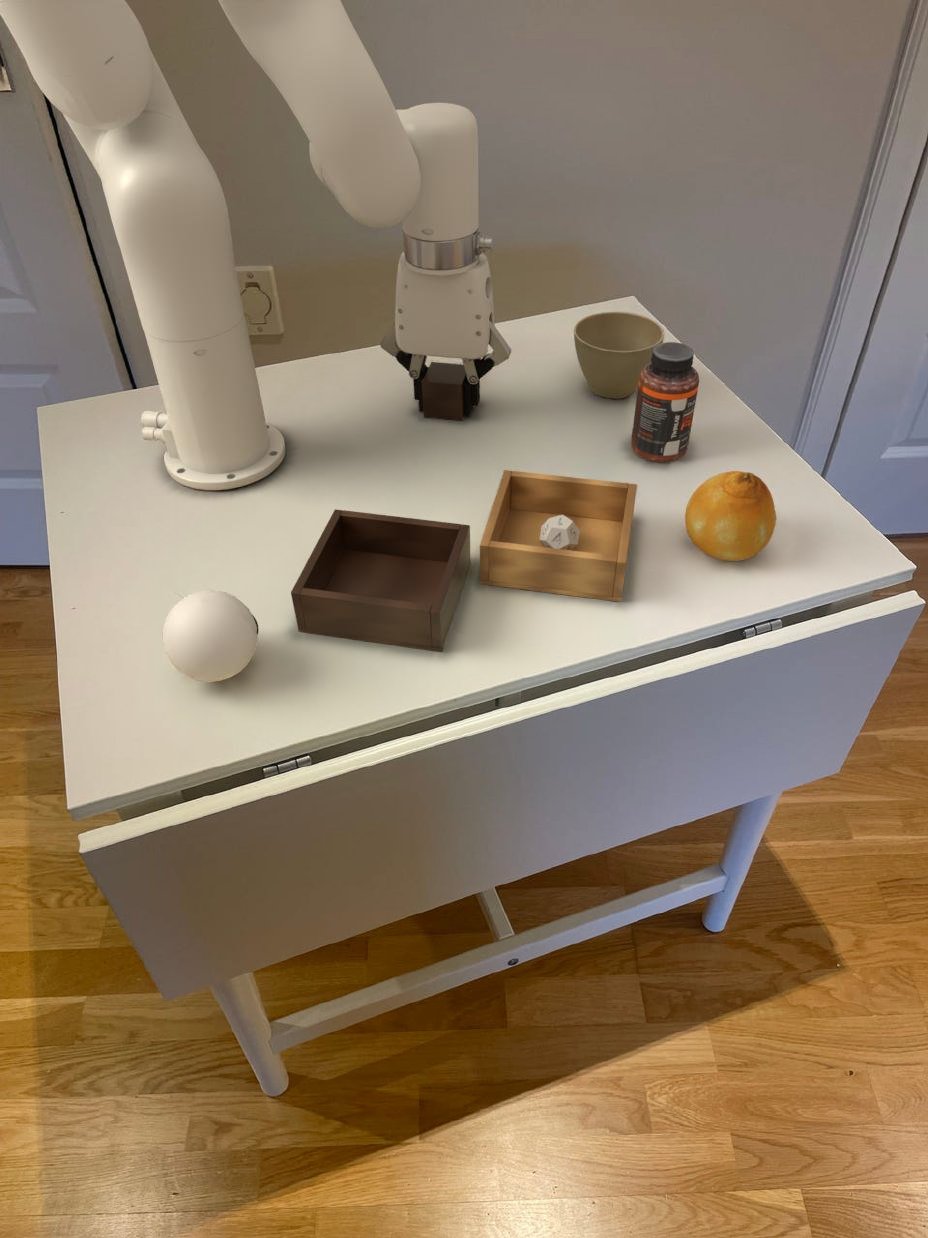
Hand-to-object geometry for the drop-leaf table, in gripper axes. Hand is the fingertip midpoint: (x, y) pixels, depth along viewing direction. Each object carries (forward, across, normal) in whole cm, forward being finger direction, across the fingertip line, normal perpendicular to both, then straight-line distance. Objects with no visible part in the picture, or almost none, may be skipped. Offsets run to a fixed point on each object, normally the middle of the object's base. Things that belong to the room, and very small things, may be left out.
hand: (447, 405), depth 103 cm
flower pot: (+1, -18, -8) cm, 20 cm away
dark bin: (0, -2, +32) cm, 32 cm away
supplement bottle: (+1, -24, +4) cm, 24 cm away
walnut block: (0, 0, 0) cm, 0 cm away
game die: (0, -16, +23) cm, 28 cm away
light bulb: (+1, +10, +42) cm, 43 cm away
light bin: (0, -16, +23) cm, 28 cm away
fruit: (+1, -31, +19) cm, 36 cm away
